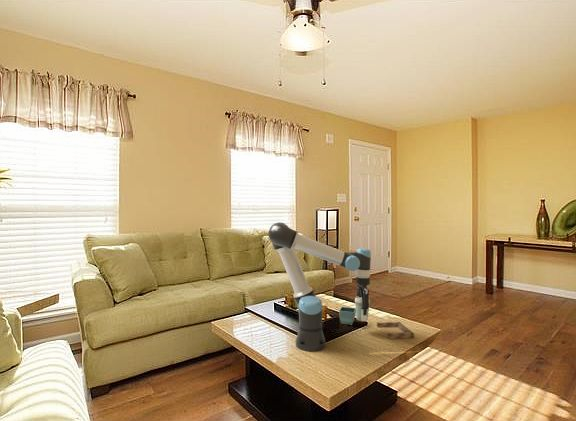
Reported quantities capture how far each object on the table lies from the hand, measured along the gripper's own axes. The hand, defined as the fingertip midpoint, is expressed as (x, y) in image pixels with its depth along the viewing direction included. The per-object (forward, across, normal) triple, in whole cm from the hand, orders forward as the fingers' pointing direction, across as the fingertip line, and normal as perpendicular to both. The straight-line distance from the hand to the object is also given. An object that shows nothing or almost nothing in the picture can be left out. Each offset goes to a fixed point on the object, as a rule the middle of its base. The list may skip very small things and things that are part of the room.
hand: (361, 318), depth 177 cm
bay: (+7, 0, -18) cm, 19 cm away
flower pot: (+8, +14, +4) cm, 17 cm away
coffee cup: (+1, 0, 0) cm, 1 cm away
